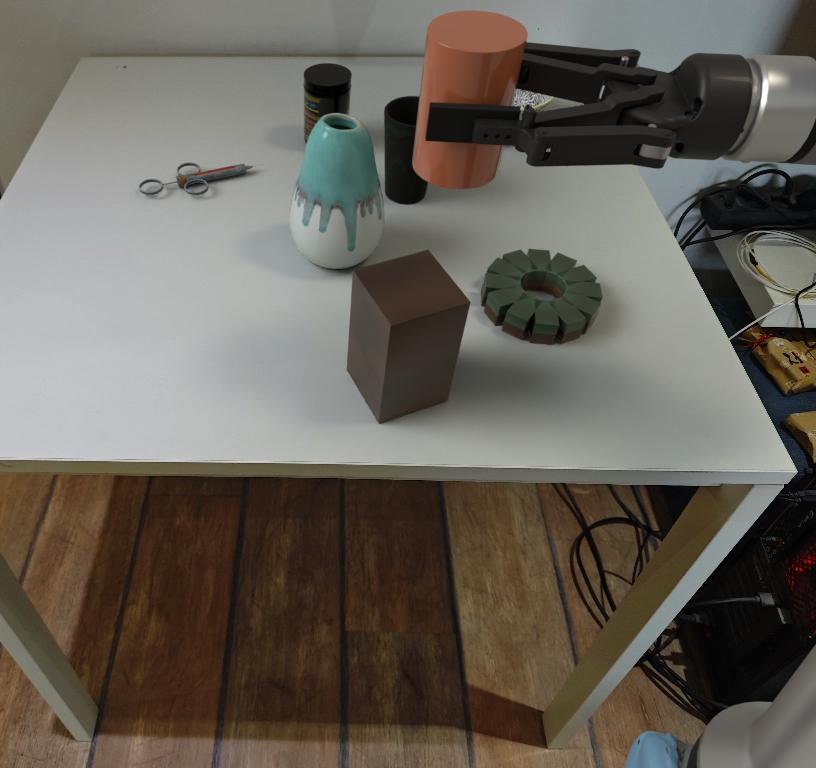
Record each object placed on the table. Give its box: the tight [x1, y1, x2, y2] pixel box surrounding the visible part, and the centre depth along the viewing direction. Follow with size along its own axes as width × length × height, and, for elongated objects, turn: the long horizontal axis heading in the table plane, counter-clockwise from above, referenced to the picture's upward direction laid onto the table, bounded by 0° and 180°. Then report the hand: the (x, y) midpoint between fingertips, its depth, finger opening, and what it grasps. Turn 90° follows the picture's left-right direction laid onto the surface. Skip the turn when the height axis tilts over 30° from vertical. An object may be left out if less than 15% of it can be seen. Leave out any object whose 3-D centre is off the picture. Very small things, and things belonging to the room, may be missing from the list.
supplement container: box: [302, 62, 353, 145], centre depth 104 cm, size 7×7×10 cm
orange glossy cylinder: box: [412, 9, 529, 190], centre depth 56 cm, size 7×7×11 cm
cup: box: [383, 95, 429, 205], centre depth 95 cm, size 8×8×12 cm
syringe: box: [138, 161, 265, 196], centre depth 101 cm, size 8×18×2 cm, turn 110°
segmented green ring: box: [480, 248, 604, 346], centre depth 83 cm, size 13×13×3 cm
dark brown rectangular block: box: [346, 249, 472, 424], centre depth 71 cm, size 8×8×14 cm
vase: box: [288, 113, 385, 270], centre depth 84 cm, size 12×12×18 cm
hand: (427, 95), depth 56 cm, fingers closed on orange glossy cylinder, 7 cm apart
